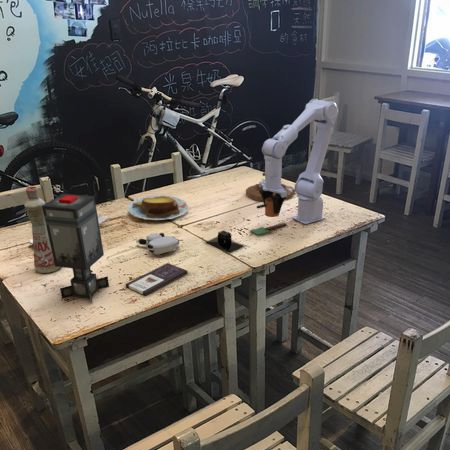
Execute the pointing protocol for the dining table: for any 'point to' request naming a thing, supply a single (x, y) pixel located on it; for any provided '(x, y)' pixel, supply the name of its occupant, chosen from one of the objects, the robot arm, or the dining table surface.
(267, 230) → the spatula
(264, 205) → the pot
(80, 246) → the explosive device
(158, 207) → the food on plate
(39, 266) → the bottle
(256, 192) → the plant
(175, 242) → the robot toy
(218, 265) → the dining table surface
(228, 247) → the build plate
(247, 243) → the dining table surface
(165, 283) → the chocolate bar
